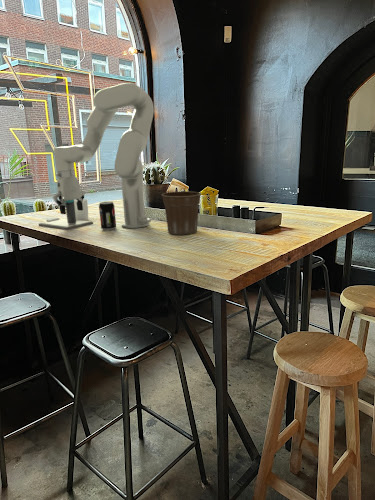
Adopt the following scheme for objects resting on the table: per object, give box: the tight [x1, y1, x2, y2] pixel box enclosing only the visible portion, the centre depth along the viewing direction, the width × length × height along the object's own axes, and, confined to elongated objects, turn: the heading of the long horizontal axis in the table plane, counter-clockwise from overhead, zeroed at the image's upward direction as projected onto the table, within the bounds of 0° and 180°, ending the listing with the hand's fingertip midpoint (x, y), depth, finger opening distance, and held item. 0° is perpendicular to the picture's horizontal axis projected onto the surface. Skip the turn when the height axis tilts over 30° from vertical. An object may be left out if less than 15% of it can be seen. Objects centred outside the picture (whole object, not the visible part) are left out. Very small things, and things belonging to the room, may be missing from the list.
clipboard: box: [38, 217, 94, 231], centre depth 180 cm, size 22×15×2 cm
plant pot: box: [161, 190, 202, 236], centre depth 153 cm, size 16×16×16 cm
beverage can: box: [98, 201, 117, 231], centre depth 165 cm, size 7×7×12 cm
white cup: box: [74, 198, 89, 221], centre depth 192 cm, size 8×8×10 cm
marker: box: [64, 199, 76, 225], centre depth 173 cm, size 4×4×12 cm
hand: (72, 212), depth 173 cm, fingers open, 9 cm apart
